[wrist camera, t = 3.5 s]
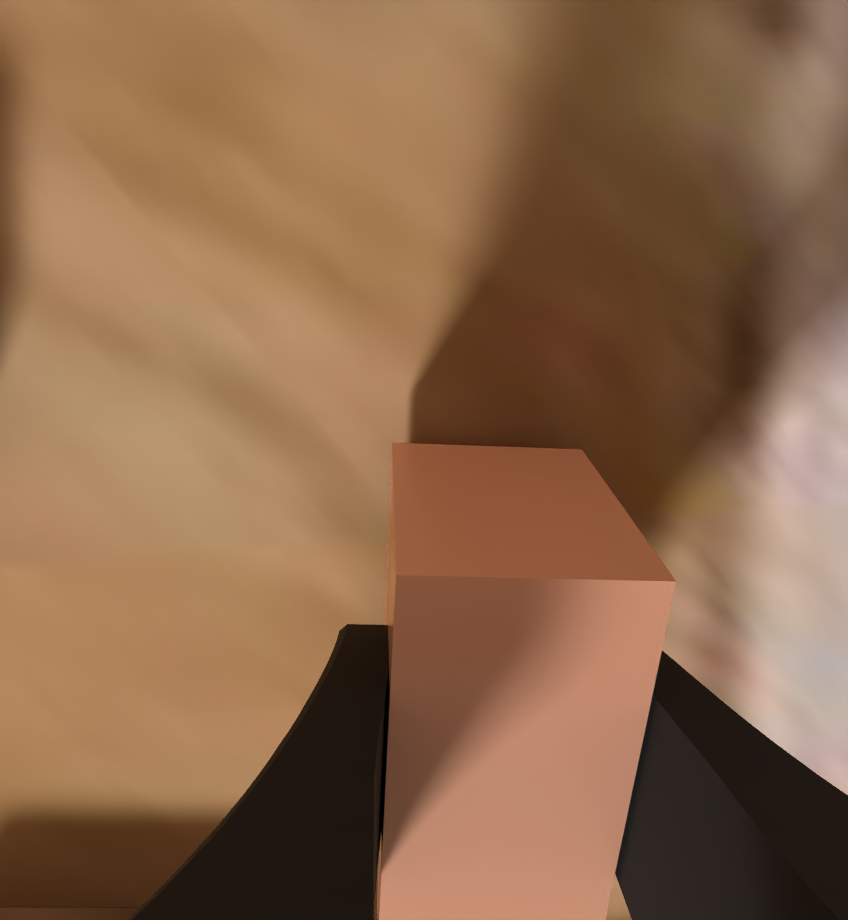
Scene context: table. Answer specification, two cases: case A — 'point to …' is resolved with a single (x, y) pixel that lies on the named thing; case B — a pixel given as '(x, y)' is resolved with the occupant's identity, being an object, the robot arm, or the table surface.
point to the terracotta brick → (512, 682)
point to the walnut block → (68, 913)
